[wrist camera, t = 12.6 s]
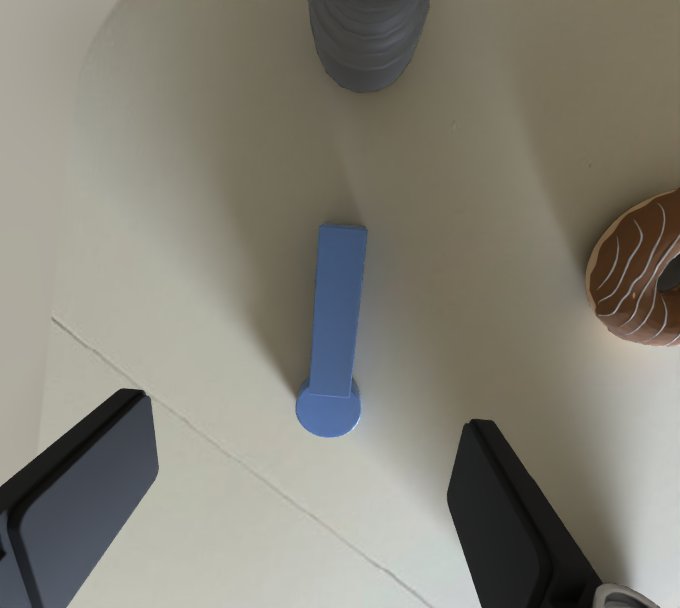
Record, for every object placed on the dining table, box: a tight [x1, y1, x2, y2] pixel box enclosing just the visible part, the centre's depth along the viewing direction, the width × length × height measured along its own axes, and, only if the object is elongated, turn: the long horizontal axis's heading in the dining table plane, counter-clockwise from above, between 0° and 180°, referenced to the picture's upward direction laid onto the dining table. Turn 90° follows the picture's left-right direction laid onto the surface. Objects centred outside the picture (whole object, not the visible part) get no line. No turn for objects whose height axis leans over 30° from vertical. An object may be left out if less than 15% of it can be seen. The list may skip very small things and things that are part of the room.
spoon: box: [296, 223, 368, 438], centre depth 23 cm, size 17×5×3 cm, turn 175°
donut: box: [585, 188, 680, 347], centre depth 21 cm, size 11×11×4 cm
